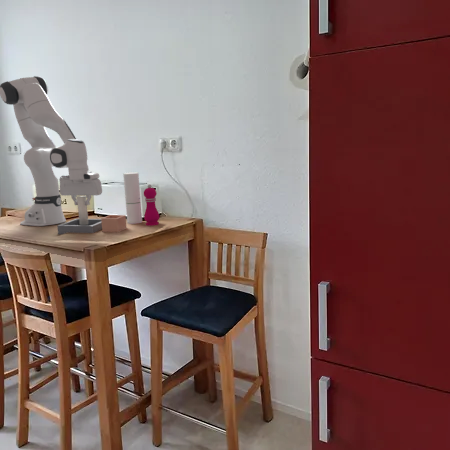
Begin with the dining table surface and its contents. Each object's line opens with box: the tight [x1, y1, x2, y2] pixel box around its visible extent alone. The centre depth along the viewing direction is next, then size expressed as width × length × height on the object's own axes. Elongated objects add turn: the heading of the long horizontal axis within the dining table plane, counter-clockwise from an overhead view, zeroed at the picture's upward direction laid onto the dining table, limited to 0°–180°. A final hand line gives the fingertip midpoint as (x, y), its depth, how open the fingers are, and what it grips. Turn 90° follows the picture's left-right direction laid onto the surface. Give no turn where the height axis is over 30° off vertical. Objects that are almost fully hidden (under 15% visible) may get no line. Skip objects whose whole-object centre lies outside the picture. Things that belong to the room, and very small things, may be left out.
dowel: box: [76, 195, 89, 225], centre depth 220 cm, size 4×4×13 cm
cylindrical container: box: [122, 171, 143, 225], centre depth 230 cm, size 7×7×25 cm
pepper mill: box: [143, 184, 160, 227], centre depth 224 cm, size 7×7×20 cm
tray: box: [56, 218, 102, 235], centre depth 222 cm, size 18×16×4 cm
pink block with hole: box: [100, 214, 128, 233], centre depth 216 cm, size 8×8×7 cm
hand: (82, 204), depth 220 cm, fingers closed on dowel, 4 cm apart
